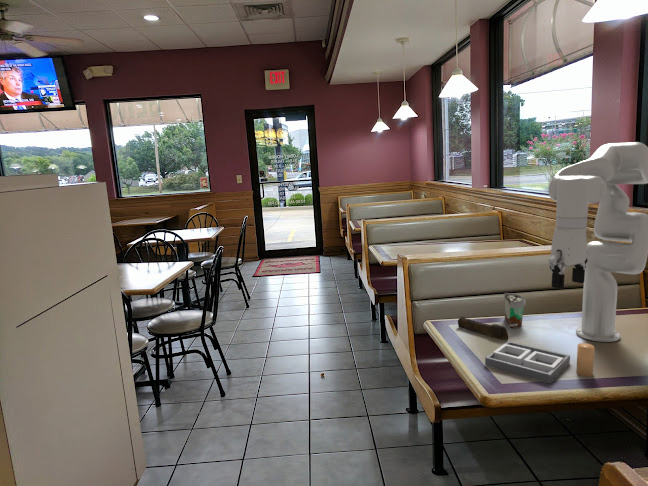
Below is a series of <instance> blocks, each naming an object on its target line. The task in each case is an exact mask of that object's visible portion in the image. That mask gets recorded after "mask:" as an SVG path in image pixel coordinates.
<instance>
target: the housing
mask: <svg viewBox="0 0 648 486" xmlns="http://www.w3.org/2000/svg"><path fill="white" fill-rule="evenodd" d="M484 360H485V361H484V363H485V364H484V366H485V367H489V368H492V369H496V370H499V371H503V372H506V373H510V374H514V375H518V376H521V377H525V378H528V379H531V380H535V381H539V382H543V383H546V384H551V383H552V382H553V381H554V380H555V379H556V378H557V377H558V376H559V375H560V374H561V373H562V372H563V371H564V370H565V369H566V368H568V366H569V365H570V364H571V355H570V354H565V353H561V352H557V351H552V350H549V349H544V348H540V347H535V346H531V345H526V344H522V343H518V342H515V341H510V340H507V342H505V343H504V344H502V345H501V346H500V347H497V349H495V350H494V351H492V352H491V353H490V354H488V355H487V356H485V357H484Z"/></svg>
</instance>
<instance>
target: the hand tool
mask: <svg viewBox="0 0 648 486" xmlns="http://www.w3.org/2000/svg"><path fill="white" fill-rule="evenodd" d="M457 326H458V328H462V329H468V330H471V331H475V332H478V333H480V334H481V333H482V334H486V335H488V336H490V338H493V339H496V340H502V341H509V338H510V337H509V332H508V329H507V328H506V327H505V326H503V325H500V324H496V323H493V324H489V323H488V324H487V323H484V322H481V321H476V320H474V319H470V318H466V317H465V316H461V317H459V319H457Z"/></svg>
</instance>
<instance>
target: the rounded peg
mask: <svg viewBox="0 0 648 486" xmlns="http://www.w3.org/2000/svg"><path fill="white" fill-rule="evenodd" d="M576 351H577V352H576V369H575V370H576V371H575V372H576V374H577V375H579V376H580V377H581V376H582V377H588V378H589V377H593V376H594V362H595V361H594V360H595V346H594V345H592V344H591V343H587V342H581V343H580V342H579V343H578V344H577V350H576Z"/></svg>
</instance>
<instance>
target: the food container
mask: <svg viewBox="0 0 648 486" xmlns="http://www.w3.org/2000/svg"><path fill="white" fill-rule="evenodd" d="M526 305H527V302H526V299H525V297H524V296H523V295H520V294H518V293H512V292H504V321H505V323H506V324H507V327H508V329H519V328H520V327H522V325H523V317H524V307H525V306H526Z"/></svg>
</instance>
